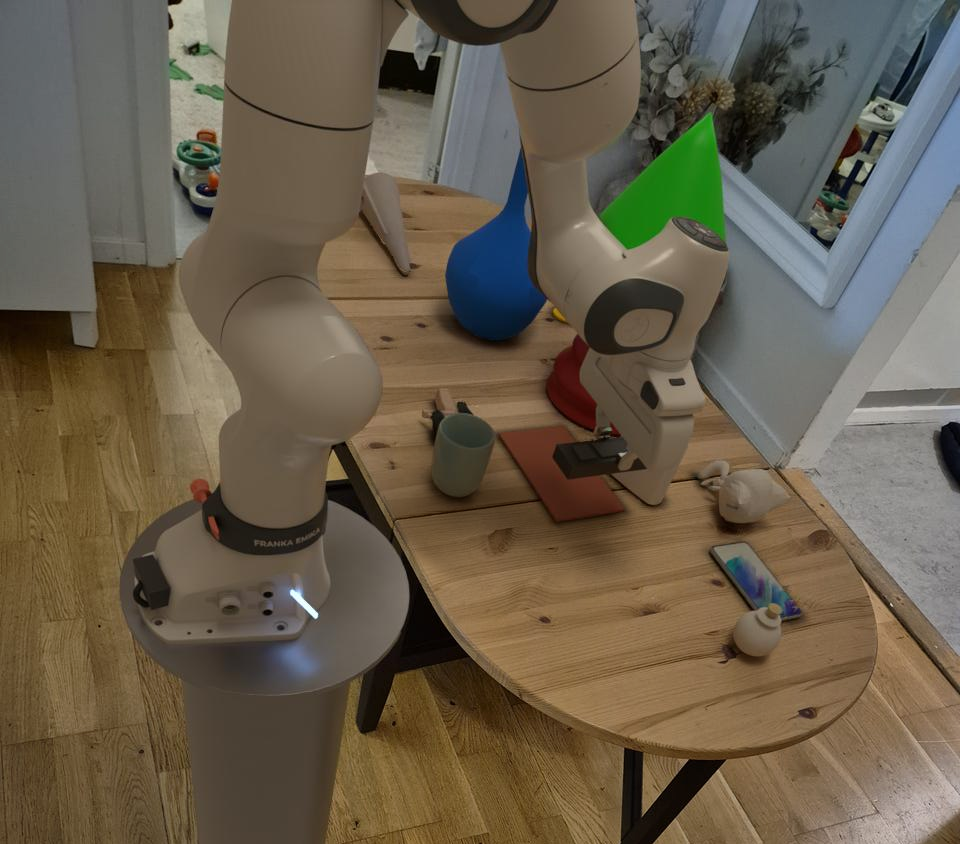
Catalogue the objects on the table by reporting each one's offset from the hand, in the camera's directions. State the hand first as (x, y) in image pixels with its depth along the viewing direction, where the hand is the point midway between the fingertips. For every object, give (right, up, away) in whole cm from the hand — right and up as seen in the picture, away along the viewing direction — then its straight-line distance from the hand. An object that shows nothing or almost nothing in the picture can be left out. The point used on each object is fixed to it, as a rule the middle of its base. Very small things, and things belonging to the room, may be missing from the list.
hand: (611, 452), depth 110 cm
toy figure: (-23, +7, +17) cm, 29 cm away
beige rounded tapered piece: (+21, -4, +21) cm, 30 cm away
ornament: (+19, -26, +2) cm, 32 cm away
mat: (-5, +1, +17) cm, 18 cm away
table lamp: (+3, +16, +32) cm, 36 cm away
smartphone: (+22, -17, +10) cm, 30 cm away
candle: (-1, +37, +48) cm, 61 cm away
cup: (-21, -3, +9) cm, 24 cm away
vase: (-16, +32, +40) cm, 54 cm away
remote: (0, -1, +1) cm, 2 cm away
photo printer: (+6, -1, +19) cm, 20 cm away
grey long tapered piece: (-34, +53, +53) cm, 82 cm away
